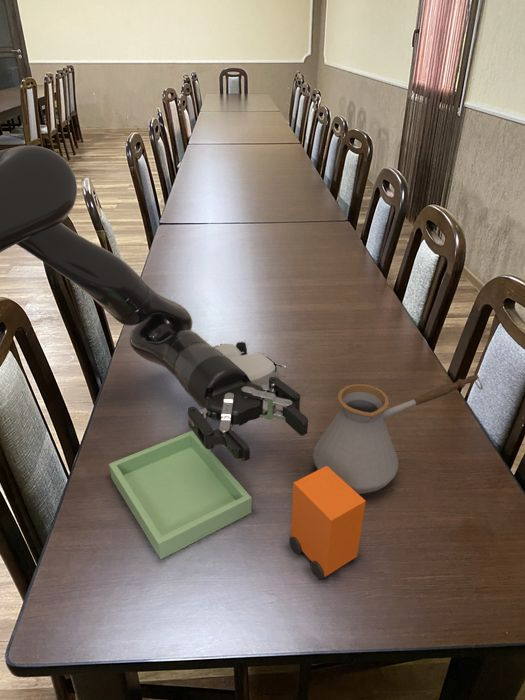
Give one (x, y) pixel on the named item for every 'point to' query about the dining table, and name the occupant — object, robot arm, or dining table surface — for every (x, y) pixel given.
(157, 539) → the green square tray
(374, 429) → the coffee pot
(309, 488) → the toy van
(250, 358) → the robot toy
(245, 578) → the dining table surface
